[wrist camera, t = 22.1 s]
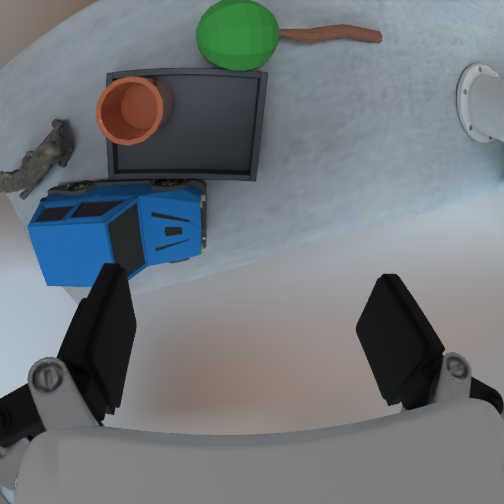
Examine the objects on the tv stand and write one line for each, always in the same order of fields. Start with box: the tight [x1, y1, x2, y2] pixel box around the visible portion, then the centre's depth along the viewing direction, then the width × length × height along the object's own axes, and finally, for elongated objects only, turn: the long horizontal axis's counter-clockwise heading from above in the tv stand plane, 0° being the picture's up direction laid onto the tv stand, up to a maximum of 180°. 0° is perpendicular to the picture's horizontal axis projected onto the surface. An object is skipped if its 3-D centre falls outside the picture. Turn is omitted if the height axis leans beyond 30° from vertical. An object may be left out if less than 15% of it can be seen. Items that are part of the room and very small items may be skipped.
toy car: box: [28, 179, 206, 287], centre depth 30 cm, size 9×19×10 cm, turn 86°
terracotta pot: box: [96, 76, 174, 145], centre depth 24 cm, size 6×6×6 cm
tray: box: [106, 68, 268, 181], centre depth 28 cm, size 16×12×2 cm
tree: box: [197, 0, 382, 71], centre depth 22 cm, size 8×8×20 cm
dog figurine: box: [0, 119, 73, 200], centre depth 25 cm, size 12×6×7 cm, turn 114°
